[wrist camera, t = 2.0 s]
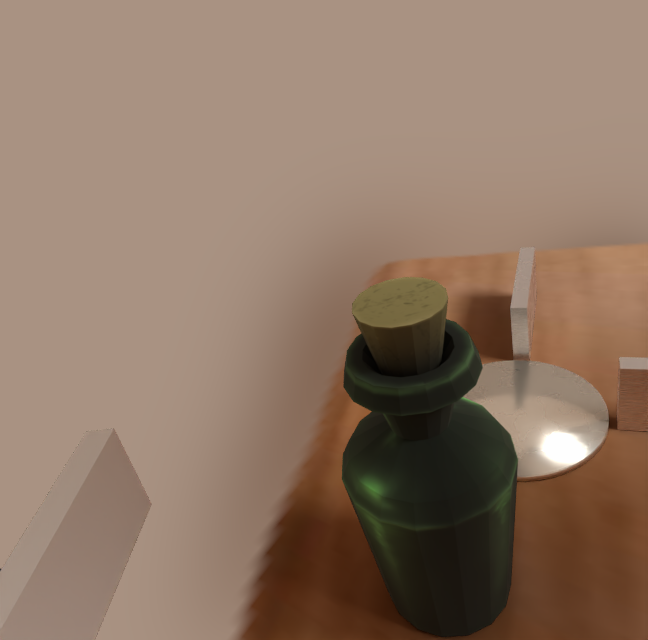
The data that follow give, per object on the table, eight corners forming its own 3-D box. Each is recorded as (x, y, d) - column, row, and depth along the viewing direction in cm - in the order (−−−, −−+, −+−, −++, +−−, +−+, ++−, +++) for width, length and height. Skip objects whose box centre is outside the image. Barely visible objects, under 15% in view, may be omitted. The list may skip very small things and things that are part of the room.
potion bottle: (393, 675, 29) (311, 386, 20) (362, 541, 36) (290, 282, 27) (555, 633, 29) (545, 325, 20) (492, 507, 36) (464, 237, 27)
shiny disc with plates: (529, 293, 56) (526, 244, 53) (833, 418, 36) (851, 352, 34) (359, 386, 49) (348, 336, 47) (620, 598, 30) (624, 532, 27)
